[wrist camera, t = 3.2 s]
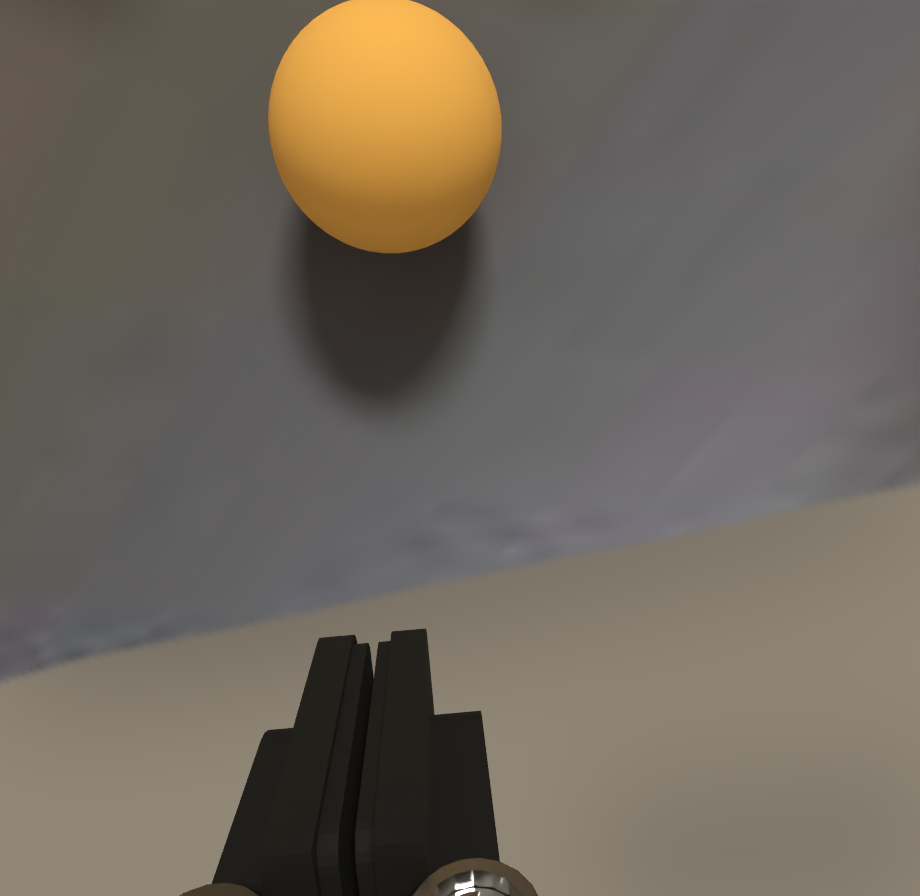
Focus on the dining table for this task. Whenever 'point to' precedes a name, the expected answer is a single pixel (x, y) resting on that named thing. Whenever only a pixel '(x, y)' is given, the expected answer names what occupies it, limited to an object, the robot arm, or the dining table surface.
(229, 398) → the dining table surface
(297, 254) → the dining table surface
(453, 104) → the ball
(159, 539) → the dining table surface
